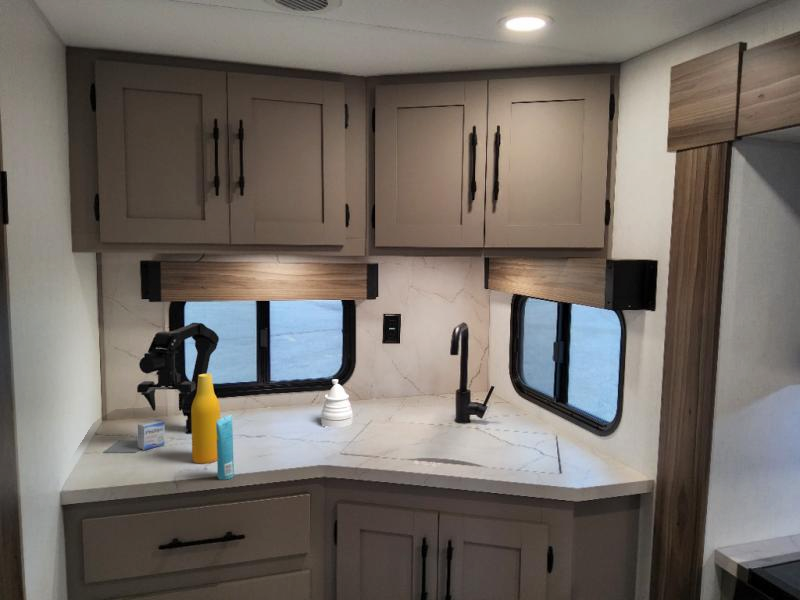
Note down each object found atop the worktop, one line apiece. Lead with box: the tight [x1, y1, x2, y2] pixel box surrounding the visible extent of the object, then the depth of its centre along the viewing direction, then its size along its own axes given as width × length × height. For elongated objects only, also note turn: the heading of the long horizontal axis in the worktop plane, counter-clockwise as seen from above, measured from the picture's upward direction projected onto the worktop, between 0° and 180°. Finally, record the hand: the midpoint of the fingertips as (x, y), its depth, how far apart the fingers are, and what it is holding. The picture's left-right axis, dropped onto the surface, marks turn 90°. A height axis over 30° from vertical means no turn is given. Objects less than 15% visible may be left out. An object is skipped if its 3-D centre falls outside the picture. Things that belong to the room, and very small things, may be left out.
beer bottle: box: [191, 373, 221, 465], centre depth 187 cm, size 9×9×29 cm
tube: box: [216, 413, 235, 481], centre depth 173 cm, size 7×5×19 cm, turn 167°
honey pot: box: [320, 378, 354, 427], centre depth 227 cm, size 13×13×18 cm
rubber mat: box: [102, 439, 141, 454], centre depth 199 cm, size 11×12×1 cm
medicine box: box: [137, 419, 166, 451], centre depth 199 cm, size 8×4×9 cm, turn 143°
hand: (167, 410), depth 199 cm, fingers open, 9 cm apart
